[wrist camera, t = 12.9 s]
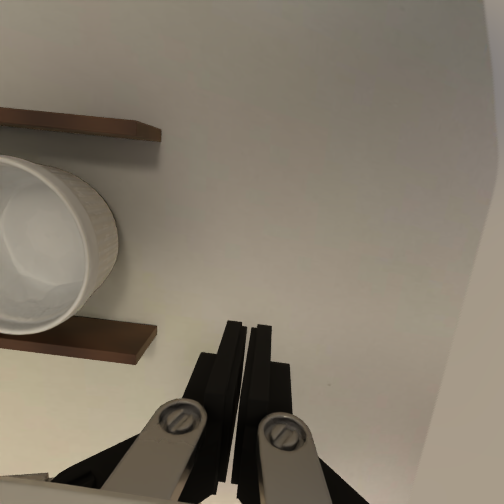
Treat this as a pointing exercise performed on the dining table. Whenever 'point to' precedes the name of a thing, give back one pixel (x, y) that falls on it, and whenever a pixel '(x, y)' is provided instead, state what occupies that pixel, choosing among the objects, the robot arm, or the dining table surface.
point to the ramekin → (49, 245)
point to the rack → (77, 328)
